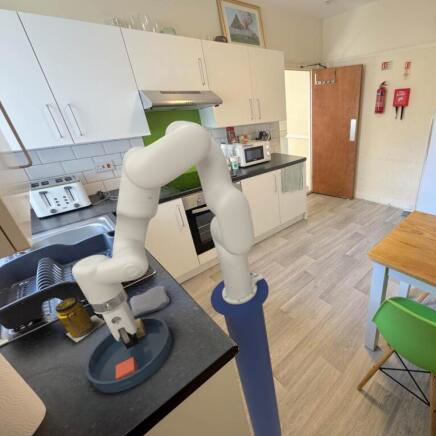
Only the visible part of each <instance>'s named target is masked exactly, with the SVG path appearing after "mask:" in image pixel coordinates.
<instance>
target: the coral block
mask: <svg viewBox="0 0 436 436" xmlns="http://www.w3.org/2000/svg"><path fill="white" fill-rule="evenodd" d="M137 370H138V365H137V363H136V361H135V359H134V358H133V357H132V358H130V359H128V360H126V361H124V362H122V363H120V364H118V365H116V379H117V380H119V379H121V378H124V377H126V376H129V375H131V374H132V373H134V372H136V371H137Z"/></svg>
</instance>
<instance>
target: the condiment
mask: <svg viewBox="0 0 436 436" xmlns="http://www.w3.org/2000/svg"><path fill="white" fill-rule="evenodd" d="M55 312H56V313H57V318H58V319H59V320H60V322H61V324H62V325H63V326H64V328H65V329H66V331H67V333H66V336H68V337H69V338H70V339H71V340H73V341H74V342H75V343H78V342H79V341H81V340H82V339H84V338H86V337H87V336H89V335H90V334H91V333H92V332H94V331H95V330H96V329H98V328H100V327H101V326H102V325H103V324H105V323H106V321H105V320H103V319H102V318H100V317H98V316H97V315H95V314H94V315H91V316H90V315H89V313H88V312H87V310H86V309H85V307H84V305H83V304H82V303H80V301H79V300H78V299H77V298H75V297H71V298H70V297H69V298H66V299H64V300H62V301H61V302H59V303H58V304H57V305H56V306H55Z"/></svg>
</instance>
